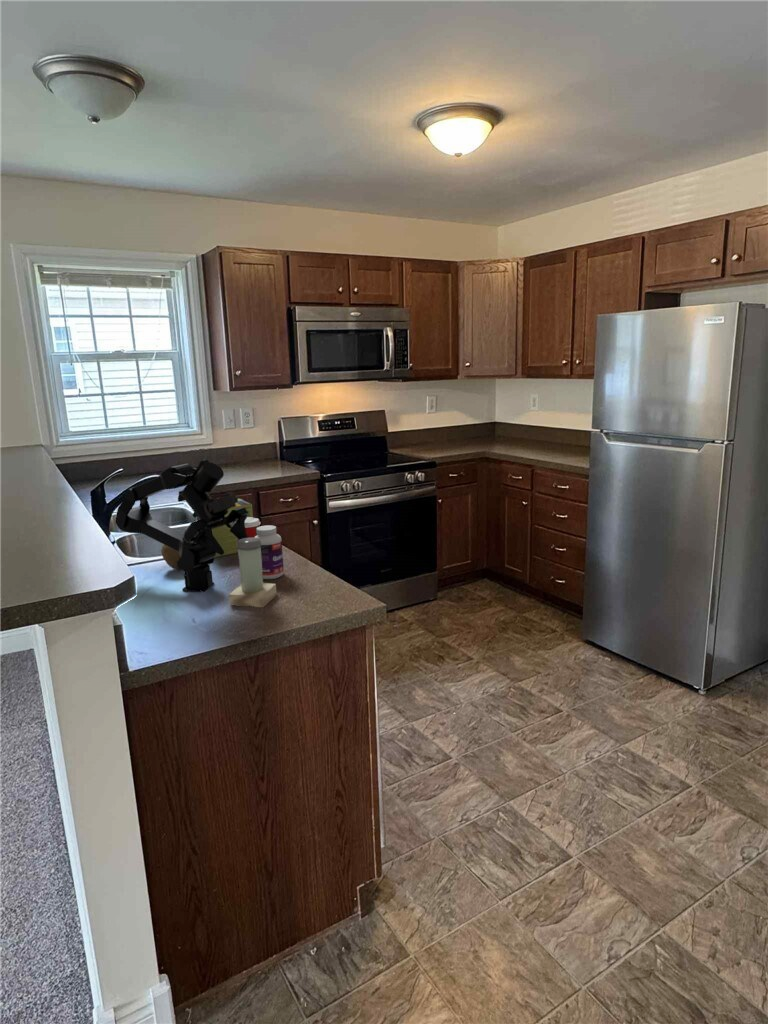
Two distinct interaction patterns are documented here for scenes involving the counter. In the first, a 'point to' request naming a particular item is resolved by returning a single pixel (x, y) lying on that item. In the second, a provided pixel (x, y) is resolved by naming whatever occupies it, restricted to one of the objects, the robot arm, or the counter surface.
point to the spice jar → (250, 564)
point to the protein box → (223, 532)
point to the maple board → (253, 596)
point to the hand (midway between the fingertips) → (236, 549)
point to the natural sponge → (170, 556)
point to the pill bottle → (270, 552)
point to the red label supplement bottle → (251, 526)
